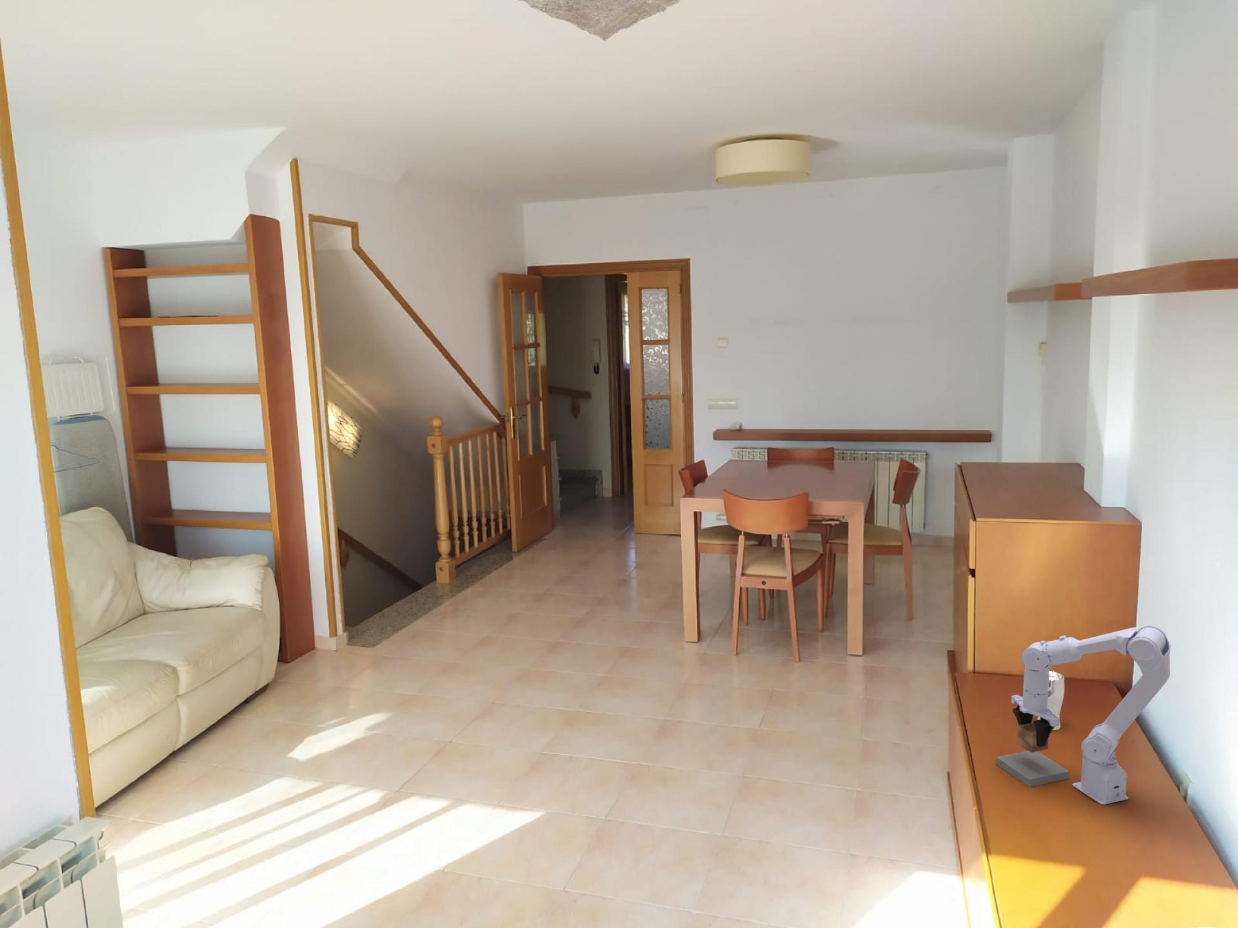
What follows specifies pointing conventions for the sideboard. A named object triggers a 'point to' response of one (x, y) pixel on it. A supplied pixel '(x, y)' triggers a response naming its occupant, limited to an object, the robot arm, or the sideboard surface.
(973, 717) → the sideboard surface
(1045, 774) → the gray slab
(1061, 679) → the beer glass
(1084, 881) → the sideboard surface
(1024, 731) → the walnut block
